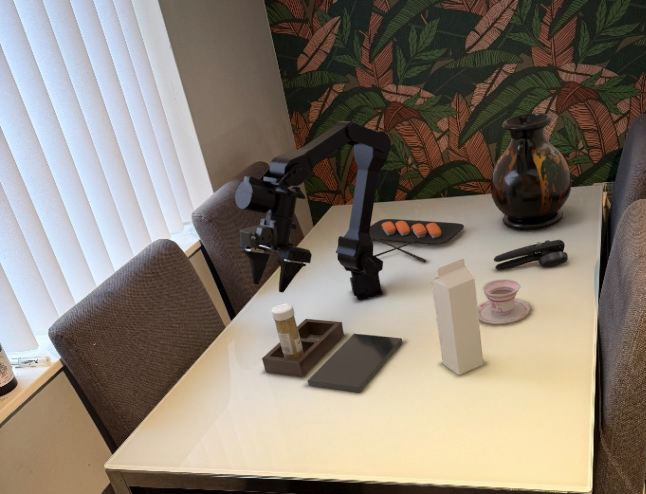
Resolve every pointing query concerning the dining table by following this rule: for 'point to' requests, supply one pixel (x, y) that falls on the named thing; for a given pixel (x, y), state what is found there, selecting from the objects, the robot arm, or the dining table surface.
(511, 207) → the dark ceramic vase
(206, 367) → the dining table surface
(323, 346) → the spice rack
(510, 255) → the can opener
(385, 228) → the sushi plate
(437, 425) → the dining table surface
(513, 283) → the teacup
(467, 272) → the milk
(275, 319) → the sprinkles bottle
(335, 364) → the slate board
